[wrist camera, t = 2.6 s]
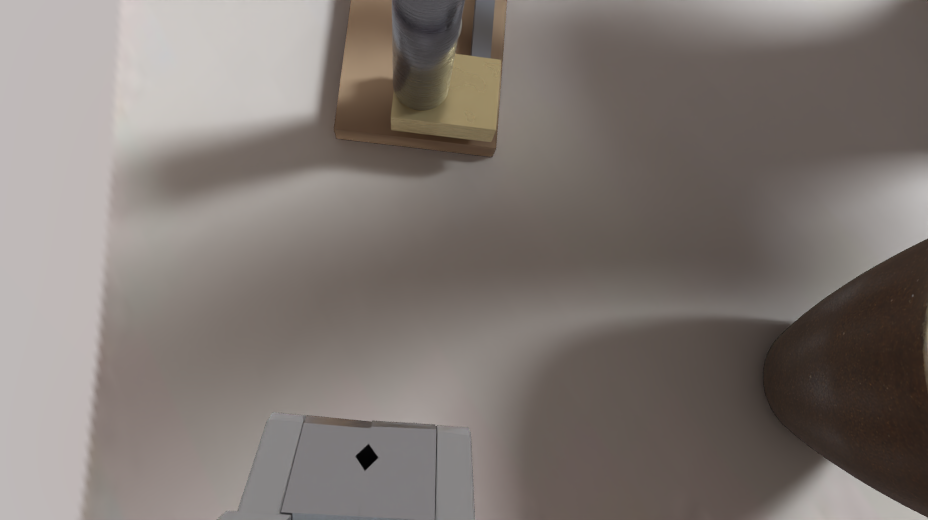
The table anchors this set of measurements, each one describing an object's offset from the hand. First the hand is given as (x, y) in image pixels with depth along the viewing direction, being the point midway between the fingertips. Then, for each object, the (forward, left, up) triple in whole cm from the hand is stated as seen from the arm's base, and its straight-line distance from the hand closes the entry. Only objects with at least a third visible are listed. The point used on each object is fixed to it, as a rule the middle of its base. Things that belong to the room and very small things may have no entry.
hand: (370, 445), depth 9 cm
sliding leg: (-13, -11, -24) cm, 30 cm away
